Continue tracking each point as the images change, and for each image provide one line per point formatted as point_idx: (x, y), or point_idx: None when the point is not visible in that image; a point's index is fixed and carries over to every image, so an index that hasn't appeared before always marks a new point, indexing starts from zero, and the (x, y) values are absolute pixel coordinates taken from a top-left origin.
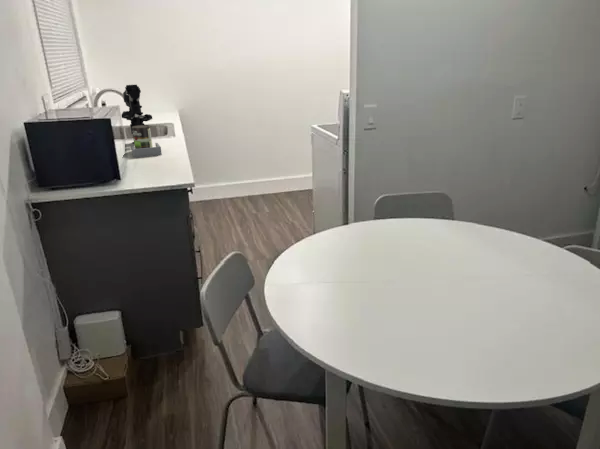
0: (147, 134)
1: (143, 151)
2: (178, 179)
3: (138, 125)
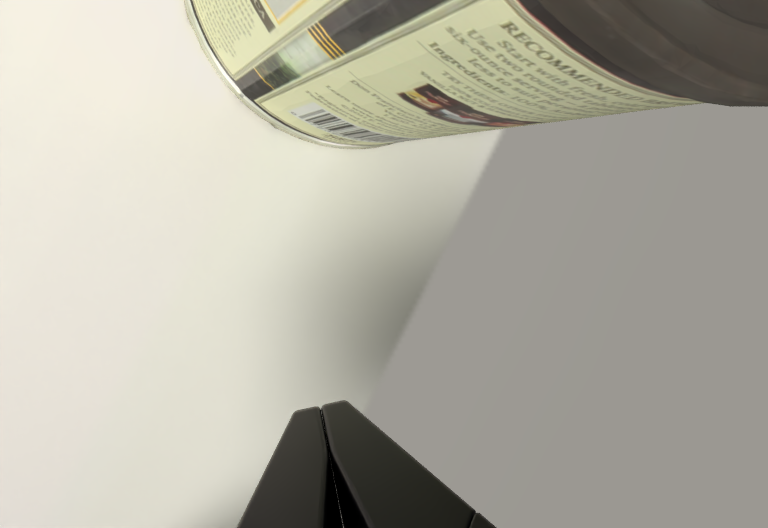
0: None
1: None
2: None
3: (723, 23)
